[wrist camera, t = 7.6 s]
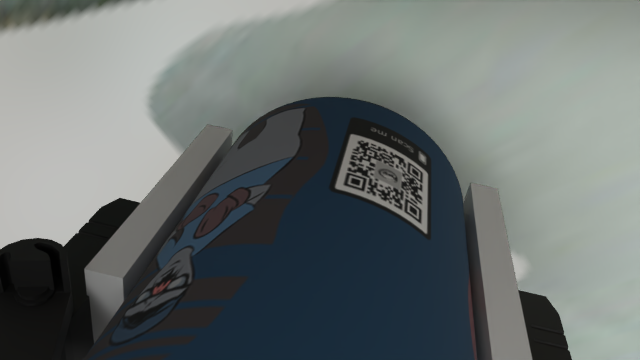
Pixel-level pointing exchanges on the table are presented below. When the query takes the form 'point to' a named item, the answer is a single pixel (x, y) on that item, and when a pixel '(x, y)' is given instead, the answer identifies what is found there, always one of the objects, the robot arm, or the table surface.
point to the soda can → (311, 249)
